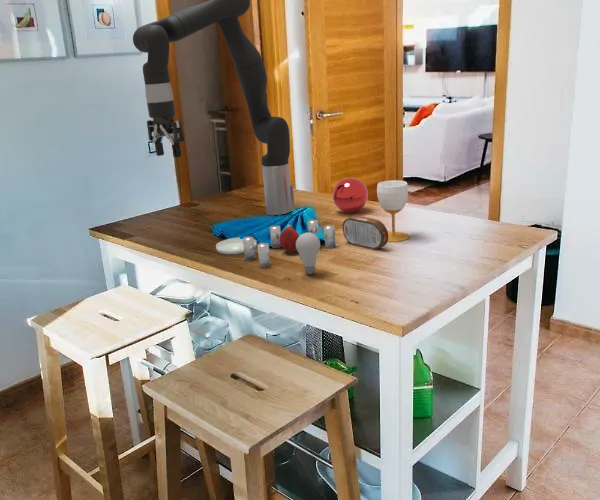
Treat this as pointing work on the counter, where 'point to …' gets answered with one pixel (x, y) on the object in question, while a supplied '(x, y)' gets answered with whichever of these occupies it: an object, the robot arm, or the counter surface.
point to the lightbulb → (308, 250)
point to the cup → (393, 203)
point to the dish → (232, 246)
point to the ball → (350, 195)
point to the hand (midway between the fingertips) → (168, 156)
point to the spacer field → (275, 242)
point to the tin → (365, 232)
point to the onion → (289, 239)
